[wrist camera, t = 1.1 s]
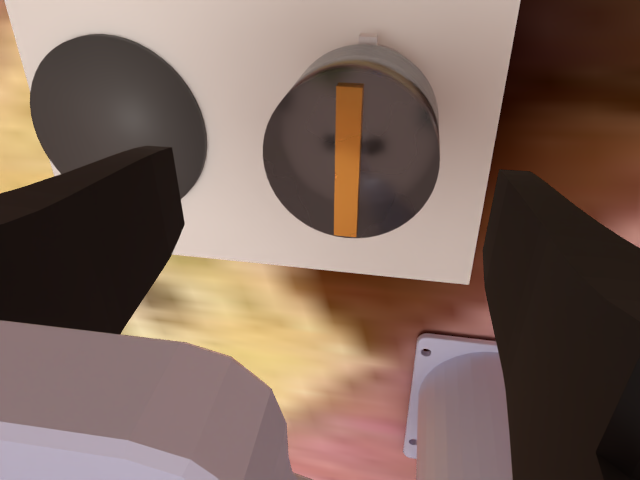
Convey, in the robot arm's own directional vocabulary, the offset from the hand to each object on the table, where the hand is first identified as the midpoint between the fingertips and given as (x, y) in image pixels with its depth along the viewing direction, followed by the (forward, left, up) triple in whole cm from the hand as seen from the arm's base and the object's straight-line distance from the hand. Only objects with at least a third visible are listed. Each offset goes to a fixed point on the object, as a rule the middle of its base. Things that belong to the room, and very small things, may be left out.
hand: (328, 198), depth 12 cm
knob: (-1, 0, -7) cm, 7 cm away
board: (-2, +5, -11) cm, 12 cm away
